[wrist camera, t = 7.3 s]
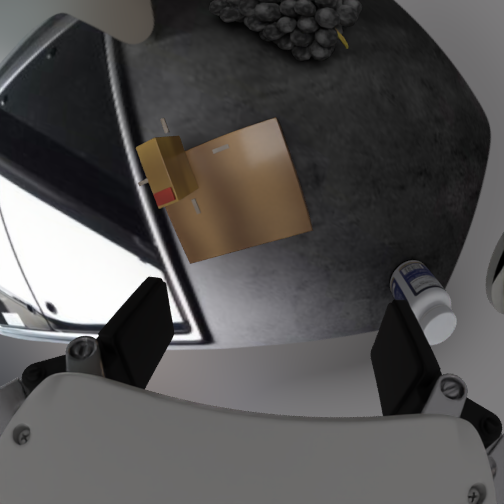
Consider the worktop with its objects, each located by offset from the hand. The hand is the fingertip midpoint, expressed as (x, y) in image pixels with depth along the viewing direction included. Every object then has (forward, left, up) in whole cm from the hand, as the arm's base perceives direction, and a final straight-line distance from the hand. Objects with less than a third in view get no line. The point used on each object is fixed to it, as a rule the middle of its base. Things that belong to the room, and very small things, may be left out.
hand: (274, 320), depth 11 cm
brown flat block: (+5, -5, -19) cm, 20 cm away
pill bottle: (-12, +13, -19) cm, 26 cm away
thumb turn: (+7, -7, -13) cm, 17 cm away
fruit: (-6, -19, -19) cm, 28 cm away
